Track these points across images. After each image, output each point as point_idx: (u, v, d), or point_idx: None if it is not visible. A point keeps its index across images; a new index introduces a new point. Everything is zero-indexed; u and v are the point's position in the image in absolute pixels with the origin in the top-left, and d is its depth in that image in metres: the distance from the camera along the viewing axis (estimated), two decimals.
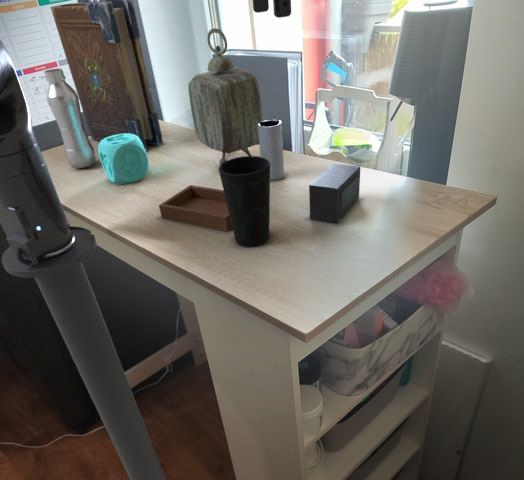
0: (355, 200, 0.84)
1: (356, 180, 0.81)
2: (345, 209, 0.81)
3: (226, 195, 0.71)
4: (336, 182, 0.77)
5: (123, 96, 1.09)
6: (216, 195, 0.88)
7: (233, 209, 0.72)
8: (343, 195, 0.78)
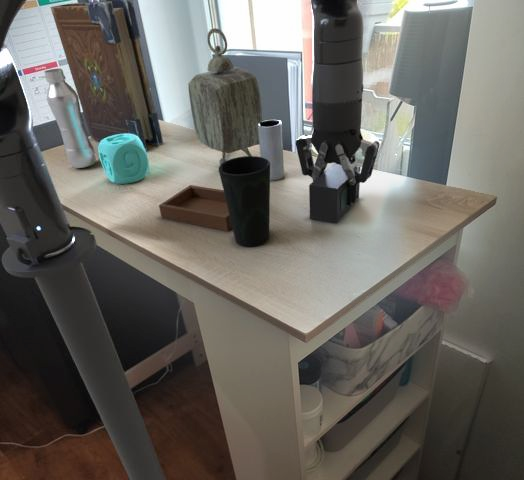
0: None
1: None
2: (345, 209, 0.81)
3: (226, 195, 0.71)
4: (336, 182, 0.77)
5: (123, 96, 1.09)
6: (216, 195, 0.88)
7: (233, 209, 0.72)
8: (343, 195, 0.78)
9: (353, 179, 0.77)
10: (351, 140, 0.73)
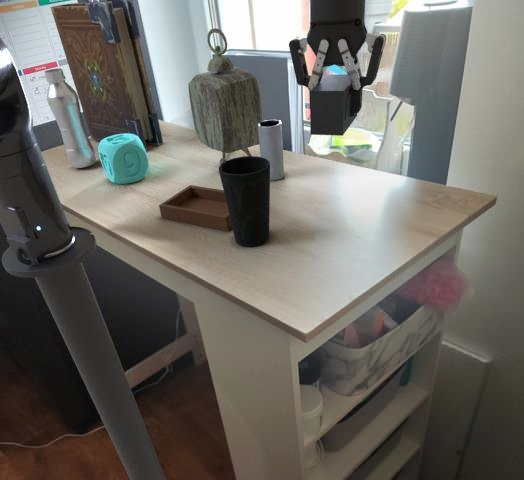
0: None
1: None
2: (348, 122, 0.72)
3: (226, 195, 0.71)
4: (339, 86, 0.68)
5: (123, 96, 1.09)
6: (216, 195, 0.88)
7: (233, 209, 0.72)
8: (348, 102, 0.69)
9: (358, 82, 0.68)
10: (355, 32, 0.65)
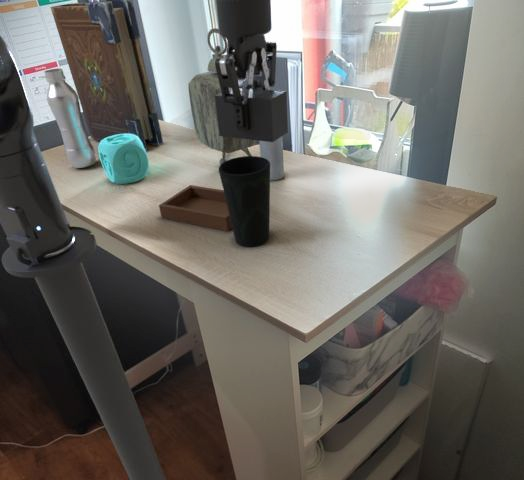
0: None
1: None
2: None
3: (226, 195, 0.71)
4: (269, 92, 0.72)
5: (123, 96, 1.09)
6: (216, 195, 0.88)
7: (233, 209, 0.72)
8: None
9: (268, 86, 0.74)
10: (263, 41, 0.70)
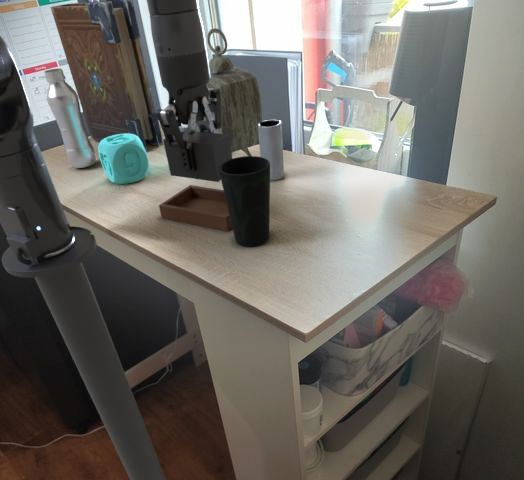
0: None
1: None
2: None
3: (226, 195, 0.71)
4: (213, 135, 0.77)
5: (123, 96, 1.09)
6: (216, 195, 0.88)
7: (233, 209, 0.72)
8: None
9: (214, 129, 0.79)
10: (205, 90, 0.75)
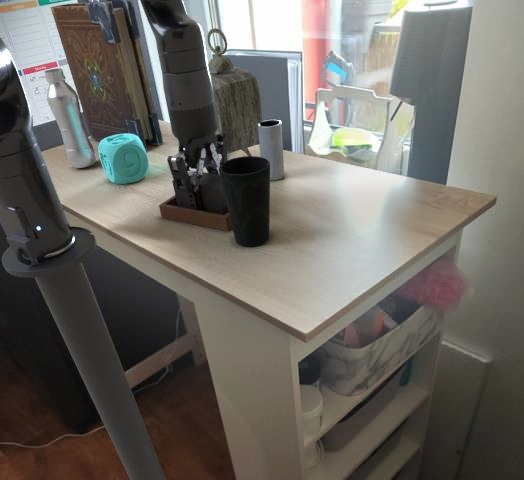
0: None
1: None
2: None
3: (226, 195, 0.71)
4: (219, 177, 0.82)
5: (123, 96, 1.09)
6: None
7: (233, 209, 0.72)
8: None
9: None
10: (212, 136, 0.80)
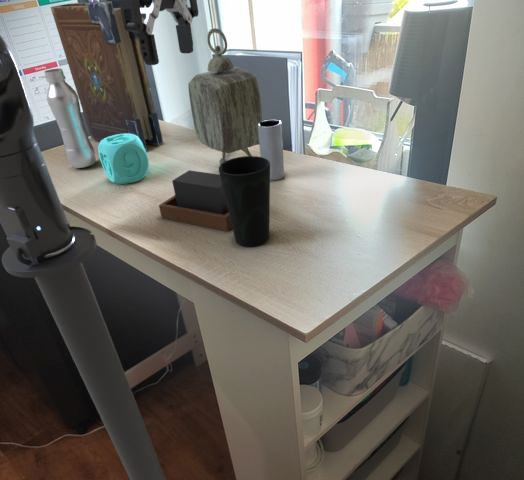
0: None
1: None
2: None
3: (226, 195, 0.71)
4: (219, 177, 0.82)
5: (123, 96, 1.09)
6: None
7: (233, 209, 0.72)
8: None
9: (190, 15, 0.72)
10: None
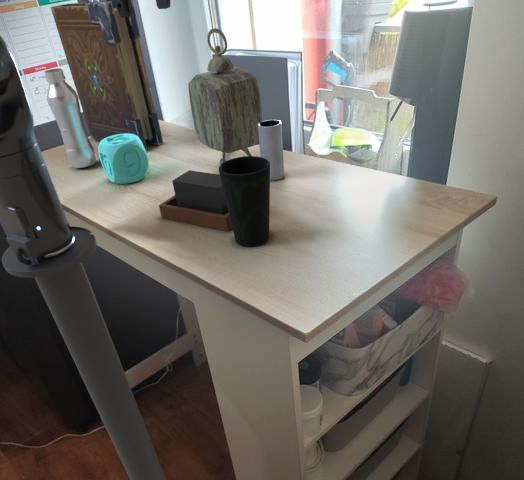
0: None
1: None
2: None
3: (226, 195, 0.71)
4: (219, 177, 0.82)
5: (123, 96, 1.09)
6: None
7: (233, 209, 0.72)
8: None
9: None
10: None
